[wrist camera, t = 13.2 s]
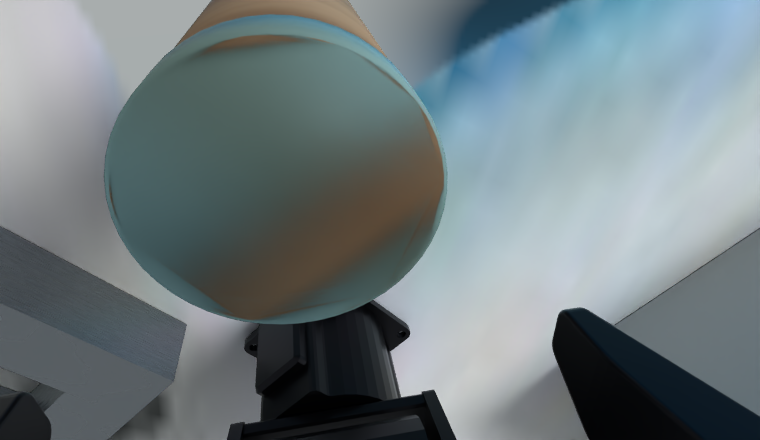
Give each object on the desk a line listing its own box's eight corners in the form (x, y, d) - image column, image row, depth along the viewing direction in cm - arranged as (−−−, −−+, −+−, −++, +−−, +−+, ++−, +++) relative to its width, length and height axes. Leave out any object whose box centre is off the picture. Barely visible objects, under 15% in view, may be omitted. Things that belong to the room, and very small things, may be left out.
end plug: (305, 118, 19) (328, 358, 9) (189, 44, 17) (47, 249, 7) (378, 13, 18) (511, 160, 7) (260, -84, 16) (213, -66, 5)
